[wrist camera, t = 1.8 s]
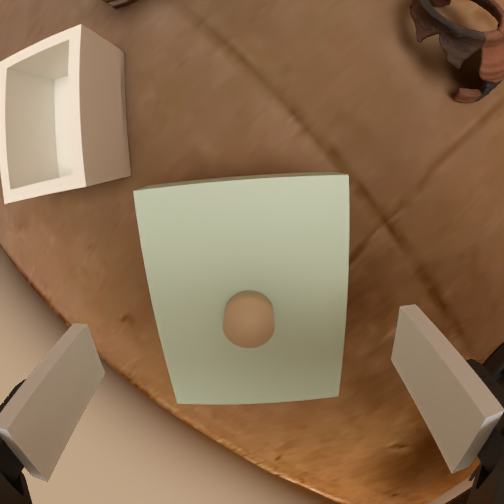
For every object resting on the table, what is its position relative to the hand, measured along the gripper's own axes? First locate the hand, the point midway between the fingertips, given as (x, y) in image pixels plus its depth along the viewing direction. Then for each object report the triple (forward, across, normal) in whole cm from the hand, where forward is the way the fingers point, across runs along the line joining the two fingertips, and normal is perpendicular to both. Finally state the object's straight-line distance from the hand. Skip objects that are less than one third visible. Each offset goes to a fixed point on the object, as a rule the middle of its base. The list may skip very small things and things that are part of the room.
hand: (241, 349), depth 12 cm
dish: (+12, +12, -12) cm, 21 cm away
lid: (+6, 0, 0) cm, 6 cm away
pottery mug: (+13, -19, -17) cm, 28 cm away
